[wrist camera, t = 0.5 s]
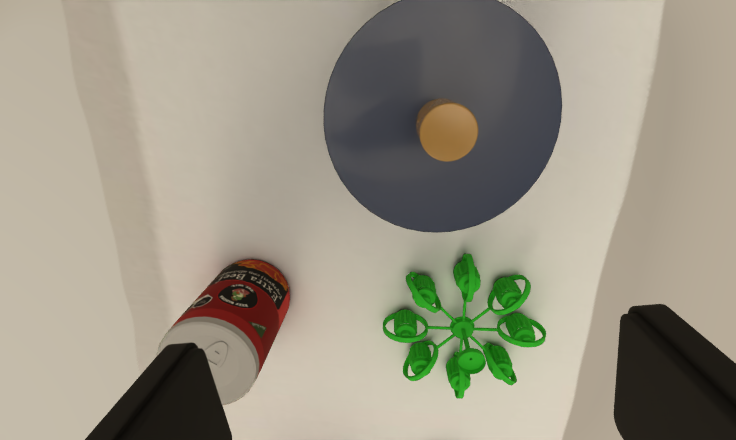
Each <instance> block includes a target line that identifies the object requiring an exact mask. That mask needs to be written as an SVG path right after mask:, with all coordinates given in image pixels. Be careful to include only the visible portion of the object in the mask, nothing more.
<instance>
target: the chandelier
mask: <svg viewBox="0 0 736 440" xmlns="http://www.w3.org/2000/svg"><path fill="white" fill-rule="evenodd" d="M453 273H454V278H455V281H456V285H457V286H458V287H459V288H460V290H461V292H462V297H463V300H464V304H463V315H462V317H457V318H455V319H454V318H453V317H452V316H451V315H450V314H449V313H447V312H446V311H445V310H444V309H443V308H442V307H441V302H440V300H439V298H438V296H437V294H436V289H435V284H434V282H433V280H432V278H430V277H429V276H426V275H418V274H417V273H415V272H410V273H409V274H408V275H407V276H406V282H407V284H408V286H409V288H410V290H411V292H412V297H413V299H414V301H415V303H416V304H417V305H418V306H419V307H422V308H426V309H428V310H429V311H431V312H433V313H436V312H438V311H439V310H440V309H441V310H442V311H443V312H444V313H445V314H446V315H447V316H448V317H449V318H450V319H451V320H452V322H451V325H450V327H440V326H428V324H427V322H426V320H425V319H424V318H423V317H421V316H419V315H417V314H414V313H413V312H411V311H410V310H408V311H407V310H404V309H403V310H400V311H398V312H397V313H394V314H391V315H389V316H388V317H386V318H385V320H384V322H383V331H384V333H385V335H386V336H388V337H389V338H390V339H392V340H395V341H398V342H403V343H411V342H416V341H419V340H421V339H423V338H424V337H425V336H426V335H427V333H428V329H450V330H451V332H452V333H453V334H452V335H451V336H450V337H448V338H447V339H446V340H444V341H443V342H442V343H440V344H439V345H438V346H437V345H436V344H434V343H433V342H432V341H424V342H422V343H415V344H414V345H412V346H411V348H410V351H409V355H408V356H407V358H406V360H405V363H404V366H403V374H404V376H405V377H406V378H408V379H409V380H410V381H416V380H419V379H421V378H423V377H424V376H426V375H427V374H429V373H430V371H431V369H432V368H433V366H434V364H435V362H436V360H437V357H438V348H440V347H441V346H442V345H444V344H445V343H446V342H448V341H449V340H450V339H452V338H453V337H454V336H456V337H458V338H460V349H459V352H455V353H454V357H453V358H451V359H449V361H448V362H447V364H446V369H447V375H448V380H449V383H450V384H451V387H452V388H453V389H454V391H455V396H456V398H463V396H464V391H465V390H466V389H468V388H469V386H470V379H471V378H470V374H475V373H478V372H480V371H481V370H483V368H484V367H485V364H486V361H487V364H488V367H489V370H490V371H491V373H492V374H493V376H494V377H495V378H497V379H500V380H503V381H504V382H506V383H507V384H509V385H513V384H514V383H516V381H517V379H516V376H515V373H514V371H513V369H512V363H511V360H510V358H509V355H508V353H507V351H506V350H505V349H504V348H503V347H501V346H498V345H496V346H493V345H492V344H491V343H486V344H485V345H483V346H482V345H481V344H480V343H479V342H478V341H477V340H476V339H475V338H474V337H473V336H472V333H473V330H480V331H497V332H498V334H499V335H500V336H501V337H502V338H503V339H504V340H506V341H507V342H509V343H512V344H514V345H517V346H521V347H536V346H539V345H541V344H542V343H543V342H544V341H545V337H546V331H545V329H544V328H543V326H542V325H540V324H539V323H538V322H536V321H534V320H532V319H529V318H527V317H526V316H525V315H524V314H521V313H514V314H511V315H512V316H511V315H510V316H506V317H503V318H501V319H500V320H499V321H498V324H497V328H474V323H473V322H474V321H476V320H477V319H478V318H480V317H481V316H482V315H484V314H485V313H486V312H488V311H489V310H491V311H492V312H493V313H495V314H497V315H505V314H508V313H511V312H513V311H514V310H516V309H518V308H519V307H520V306H521V305H522V304H523V303H524V302H525V300H526V299H527V297H528V295H529V293H530V289H531V285H530V282H529V281H528V280H527V279H526V278H525V277H524V276H523V275H512V276H509V277H503V278H500V279H498V280H497V281H496V282H495V283H494V287H493V290H492V291H491V293H490V295H489V298H488V308H487V309H486V310H484V311H483V312H482V313H480V314H479V315H478V316H476V317H475V318H474V319H472V320H471V319H470V318H468V317H465V312H466V302H471V301H472V299H473V295H474V292H476V291H477V290H478V289H479V287H480V281H481V280H480V275H479V272H478V270H477V268H476V267H475V266H474V262H473V258H472V255H471V254H464V255H463V257H462V261H461V262H459V263H458V264H456V266H455V267H454V270H453ZM411 277H413V278H415V279H414V280H413V281H412V279H411ZM518 279H522V280H525V289H524V292H523V294H521V290H520V289H519V287H518V285H517V284H516V282H514V280H518ZM423 287H425V288H423ZM505 291H506V292H505ZM467 293H468V294H467ZM495 296H496V298H497V300H498V302H499V303H500V304H501V305H502V306H503V307H504V308H505V309H502V310H495V309H493V306H492V304H493V300H494V297H495ZM434 302H435V305H436V307H434V306H432V305H433V304H434ZM403 317H404V318H403ZM392 319H394V332H395V334H396V335H394V334H392V333H390V332H389V331H388V330H387V329H386V327H385V325H386V324H387V323H388V322H389V321H390V320H392ZM416 320H418V321H420V322H421V323H422V324H423V325H424V326H425V328H426V329H425V331H424V332H423V333H421V334H419V335H417V336H416V333H417V321H416ZM504 322H506V327H507V329H508V331H509V334H510V336H511V337H509V336H508V335H506V334H505V333H504V332H503V331H502V330H501V329H500V325H501V324H502V323H504ZM403 323H405V324H403ZM406 323H409V324H406ZM400 324H401V325H400ZM532 325H533V326H534V327H536V328H537V329H539V330H540V331H541V333H542V335H543V337H542V338H541V339H539V340H536V341H535V332H534V330H533V327H532ZM521 327H522V328H521ZM518 328H519V329H518ZM517 329H518V330H517ZM468 337H470V338H471V339H472V340H473V341H475V342H476V343H477V344H478V345H479V346H480V347H481V348H482V349H483V352H484V354H485V357H486V361H485V358H484V355H483V353H482V352H481V351H480V350H478V349H474V348H470V346H469V342H468V339H467V338H468ZM463 340H464V344H465V348H466V349H465V350H463V351H462V345H463ZM427 345H433V347H434V352H433V356H432V358H431V351H430V349H429V347H428V346H427ZM488 348H489V349H488ZM498 359H499V360H498ZM409 364H410V366H411V369H412V372H413V373H414V374H415V376H408V366H409ZM509 377H511V379H509Z"/></svg>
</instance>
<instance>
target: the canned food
mask: <svg viewBox="0 0 736 440" xmlns="http://www.w3.org/2000/svg"><path fill="white" fill-rule="evenodd" d="M289 303H290V293H289V287H288V284H287V281H286V279H285V278H284V276H283V275H282V274H281V272H280V271H279V270H278V269H276V268H275V267H274V266H272V265H270V264H268V263H266V262H263V261H260V260H254V259H251V260H242V261H239V262H236V263H234V264H231V265H229V266H228V267H226V268H225V269H224V270H222V271H221V273H220V274H219V275H218V276H217V277H216V278H215V279H214V280H213V281H212V282H211V284H210V285H209V286H208V287H207V288H206V289H205V290H204V291H203V292H202V294H201V295H200V296H199V297H198V298H197V299H196V300H195V301H194V302H193V304H192V305H191V306H190V307H189V308H188V309H187V310H186V311H185V312H184V313H183V315H182V316H181V317H180V318H179V319H178V320H177V321H176V322H175V324H174V325H173V326H172V327H171V328H170V330H169V331H168V332H167V333H166V334H165V336H164V338H163V339H162V341H161V343H160V345H159V347H158V352H157V356H158V355H159V353H160V352H161V351H162V350H163V349H164V348H165V347H166V346H167V345H170V344H179V343H191V342H192V343H195V344H196V345H197V346H198V348H202V349H203V350H204V352H205V354H206V357H207V360H208V363H209V366H210V369H211V372H212V375H213V378H214V382H215V385H216V388H217V391H218V394H219V397H220V400H221V403H222V405H226V404H230V403H232V402H235V401H237V400H239V399H240V398H242V397H243V396H244V395H245V394H246V393H247V392H248V391H249V390H250V388H251V387H252V385H253V384H254V382H255V381H256V379H257V377H258V374H259V372H260V371H261V369H262V366H263V364H264V362H265V360H266V357H267V355H268V353H269V351H270V349H271V346H272V344H273V342H274V340H275V337H276V335H277V333H278V331H279V329H280V326H281V324H282V322H283V320H284V318H285V315H286V313H287V311H288V308H289Z"/></svg>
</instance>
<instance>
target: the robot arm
mask: <svg viewBox="0 0 736 440" xmlns="http://www.w3.org/2000/svg"><path fill="white" fill-rule="evenodd" d="M614 419H615V423H616V426H617V429H618V431H619V433H620V435H621V436H622V438H623V439H624V440H736V363H734V362H733V361H732V360H731V359H729V358H728V357H727V356H726V355H725V354H724V353H722V352H721V351H720V350H719V349H718V348H716V347H715V346H714V345H713V344H712V343H710V342H709V341H708V340H707V339H706V338H704V337H703V336H702V335H701V334H700V333H699V332H697V331H696V330H695V329H694V328H693V327H691V326H690V325H689V324H688V323H687V322H685V321H684V320H683V319H682V318H680V317H679V316H678V315H677V314H676V313H675V312H673V311H672V310H671V309H670V308H669V307H667V306H666V305H663V304H655V305H642V306H633V307H631V308H630V309H629V311H628V314H624V315H622V317H621V320H620V332H619V347H618V361H617V374H616V388H615V403H614ZM85 440H232V435H231V431H230V428H229V425H228V422H227V419H226V416H225V412H224V409H223V406H222V403H221V400H220V397H219V394H218V391H217V388H216V385H215V382H214V378H213V375H212V372H211V369H210V366H209V363H208V360H207V357H206V354H205V352H204V350H203V349H202V348H198V346H197V345H196V344H195V343H192V342H191V343H179V344H170V345H167V346H166V347H165V348H164V349H163V350H162V351H161V352H160V353H159V355H158V356H157V357H156V358H155V359H154V360H153V362H152V363H151V364H150V365H149V366H148V367H147V368H146V370H145V371H144V372H143V373H142V374H141V375H140V377H139V378H138V379H137V380H136V381H135V382H134V384H133V385H132V386H131V387H130V388H129V389H128V390H127V392H126V393H125V394H124V395H123V396H122V397H121V398H120V400H119V401H118V402H117V403H116V404H115V406H114V407H113V408H112V409H111V410H110V411H109V412H108V414H107V415H106V416H105V417H104V418H103V419H102V420H101V422H100V423H99V424H98V425H97V426H96V427H95V429H94V430H93V431H92V432H91V433H90V434H89V435H88V437H87V438H86V439H85Z"/></svg>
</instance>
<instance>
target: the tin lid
mask: <svg viewBox="0 0 736 440" xmlns="http://www.w3.org/2000/svg"><path fill="white" fill-rule="evenodd" d="M561 112H562V97H561V86H560V81H559V76H558V72H557V69H556V66H555V63H554V61H553V58H552V56H551V54H550V52H549V50H548V48H547V46H546V44H545V42H544V41H543V40H542V38H541V37H540V36H539V34H538V33H537V31H536V30H535V29H534V28H533V27H532V26H531V25H530V24H529V23H528V22H527V21H526V20H525V19H524V18H523V17H522V16H521V15H519V14H518V13H517V12H515V11H514V10H513V9H511V8H510V7H508V6H506V5H505V4H503V3H501V2H499V1H497V0H401V1H398V2H396V3H394V4H392V5H391V6H389V7H387V8H385V9H384V10H382V11H380V12H379V13H378V14H376V15H375V16H374V17H373V18H371V19H370V20H369V21H368V22H366V23H365V24H364V25H363V26H362V27H361V28H360V30H359V31H358V32H357V33H356V34H355V35H354V36H353V37H352V39H351V40H350V41H349V43H348V44H347V45H346V47H345V48H344V50H343V52H342V53H341V55H340V57H339V59H338V60H337V62H336V64H335V67H334V69H333V72H332V74H331V77H330V80H329V84H328V87H327V91H326V96H325V104H324V132H325V140H326V144H327V148H328V152H329V155H330V158H331V161H332V163H333V166H334V168H335V170H336V172H337V174H338V176H339V177H340V179H341V181H342V182H343V184H344V185H345V186H346V188H347V189H348V191H349V192H350V193H351V194H352V195H353V196H354V197H355V198H356V199H357V201H358V202H359V203H361V204H362V205H363V206H364V207H365V208H367V209H368V210H369V211H370V212H372V213H374V214H375V215H377V216H378V217H380V218H381V219H383V220H386V221H388V222H390V223H392V224H394V225H397V226H400V227H403V228H406V229H411V230H416V231H421V232H451V231H456V230H462V229H466V228H469V227H473V226H476V225H479V224H481V223H483V222H486V221H488V220H490V219H492V218H494V217H496V216H497V215H499V214H501V213H503V212H504V211H506V210H507V209H508V208H510V207H511V206H512V205H514V204H515V203H516V202H517V201H518V200H519V199H520V198H521V197H522V196H523V195H525V194H526V193H527V192H528V190H529V189H530V188H531V187H532V186H533V184H534V183H535V182H536V181H537V179H538V178H539V176H540V175H541V173H542V172H543V170H544V168H545V167H546V165H547V163H548V161H549V159H550V157H551V154H552V152H553V149H554V146H555V144H556V141H557V138H558V133H559V128H560V123H561Z"/></svg>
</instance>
